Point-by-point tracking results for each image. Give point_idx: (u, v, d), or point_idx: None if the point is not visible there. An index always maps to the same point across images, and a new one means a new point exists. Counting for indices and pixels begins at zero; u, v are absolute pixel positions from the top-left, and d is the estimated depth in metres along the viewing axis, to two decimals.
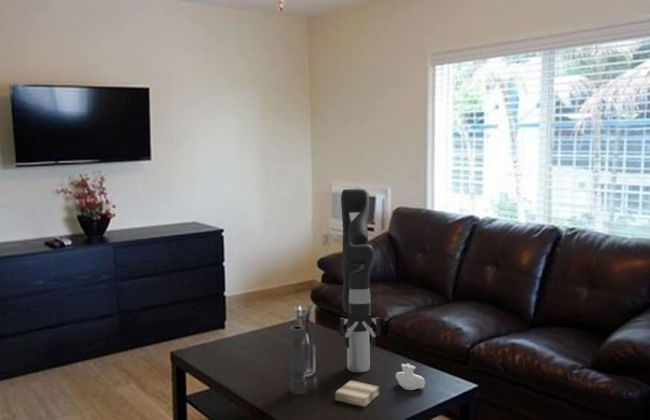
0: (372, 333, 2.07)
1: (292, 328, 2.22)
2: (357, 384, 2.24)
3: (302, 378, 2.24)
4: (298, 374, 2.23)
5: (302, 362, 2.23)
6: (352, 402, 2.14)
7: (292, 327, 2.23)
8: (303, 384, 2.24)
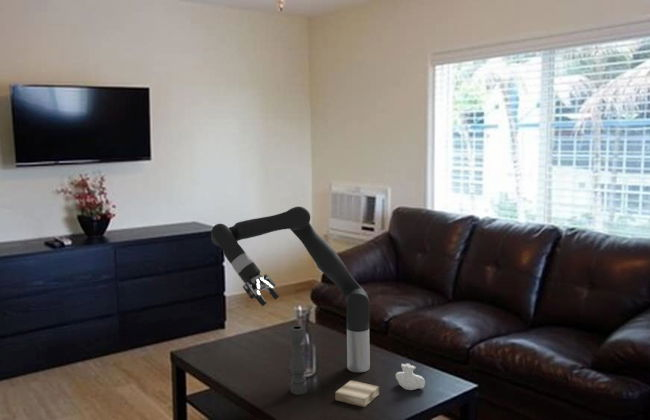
0: (270, 285, 2.28)
1: (292, 328, 2.22)
2: (357, 384, 2.24)
3: (302, 378, 2.24)
4: (298, 374, 2.23)
5: (302, 362, 2.23)
6: (352, 402, 2.14)
7: (292, 327, 2.23)
8: (303, 384, 2.24)
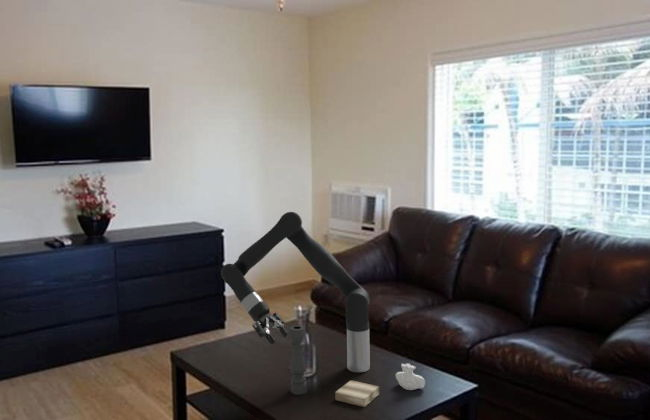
0: (280, 323, 2.31)
1: (292, 328, 2.22)
2: (357, 384, 2.24)
3: (302, 378, 2.24)
4: (298, 374, 2.23)
5: (302, 362, 2.23)
6: (352, 402, 2.14)
7: (292, 327, 2.23)
8: (303, 384, 2.24)
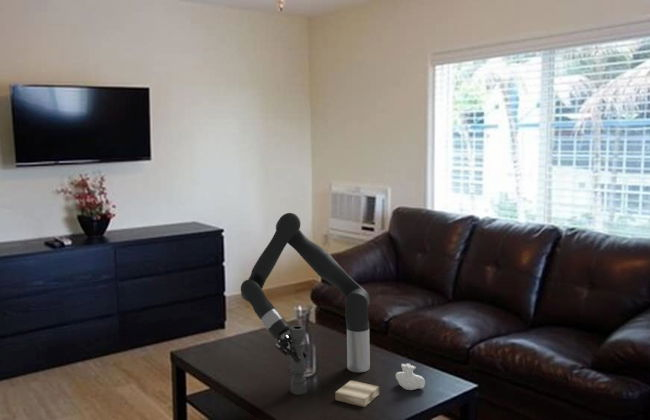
0: None
1: (292, 328, 2.22)
2: (357, 384, 2.24)
3: (302, 378, 2.24)
4: (298, 373, 2.23)
5: (302, 362, 2.23)
6: (352, 402, 2.14)
7: (292, 327, 2.24)
8: (303, 384, 2.24)
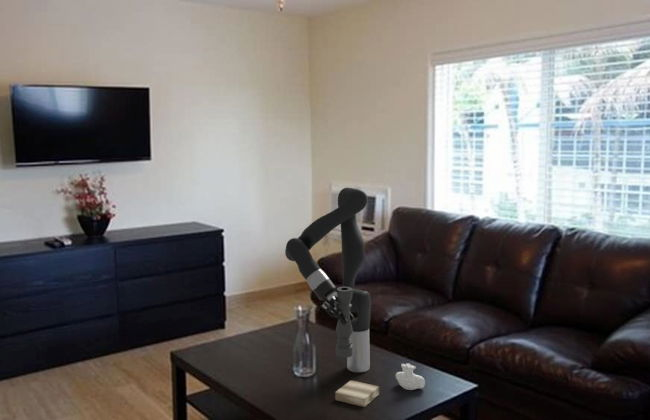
0: None
1: (339, 289, 2.14)
2: (357, 384, 2.24)
3: (348, 341, 2.16)
4: (344, 336, 2.15)
5: (349, 324, 2.15)
6: (352, 402, 2.14)
7: (339, 288, 2.15)
8: (349, 347, 2.16)
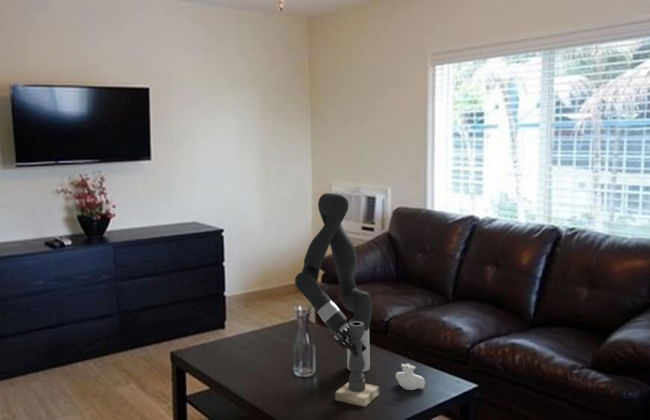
0: None
1: (351, 324, 2.16)
2: None
3: (361, 375, 2.18)
4: (357, 371, 2.17)
5: (361, 359, 2.17)
6: (352, 402, 2.14)
7: (351, 323, 2.17)
8: (362, 381, 2.18)
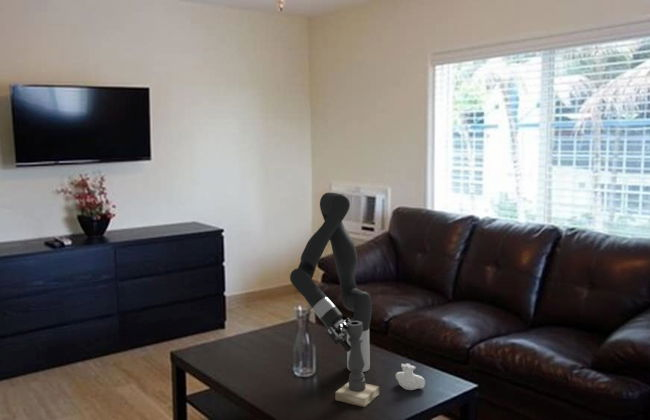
0: None
1: (350, 324, 2.17)
2: None
3: (361, 374, 2.18)
4: (356, 370, 2.17)
5: (361, 358, 2.17)
6: (352, 402, 2.14)
7: (349, 322, 2.18)
8: (362, 381, 2.18)
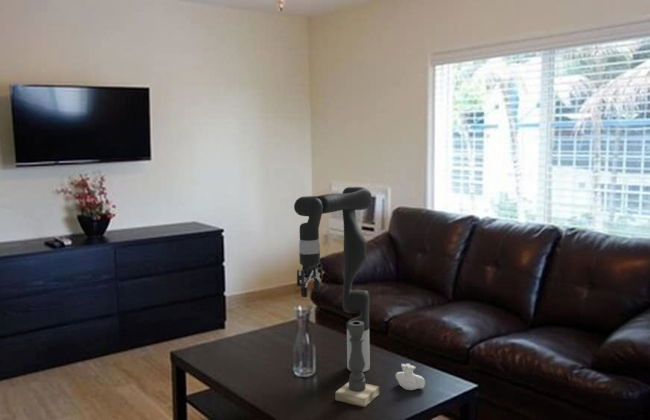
0: (318, 278, 2.23)
1: (351, 323, 2.17)
2: None
3: (361, 375, 2.19)
4: (357, 370, 2.17)
5: (361, 358, 2.17)
6: (352, 402, 2.14)
7: (351, 322, 2.18)
8: (362, 381, 2.18)
